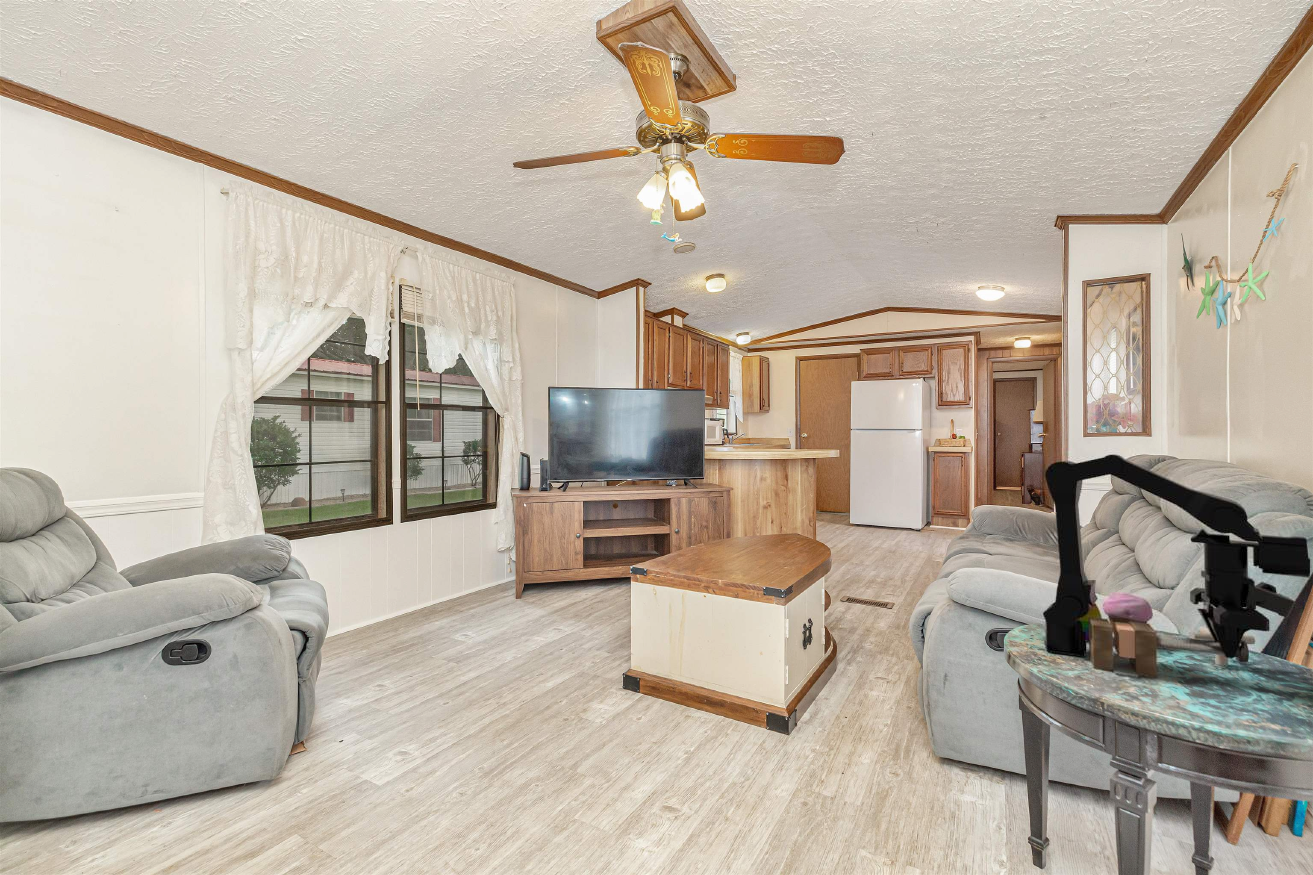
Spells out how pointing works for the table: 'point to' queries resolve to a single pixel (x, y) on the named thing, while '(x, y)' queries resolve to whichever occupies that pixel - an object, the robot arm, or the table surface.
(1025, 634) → the table surface
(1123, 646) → the spacer
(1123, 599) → the cupcake
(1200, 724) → the table surface
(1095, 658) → the pillow blocks
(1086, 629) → the decorative egg
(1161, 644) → the shaft
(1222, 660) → the pipe connector
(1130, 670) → the mat
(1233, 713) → the table surface
